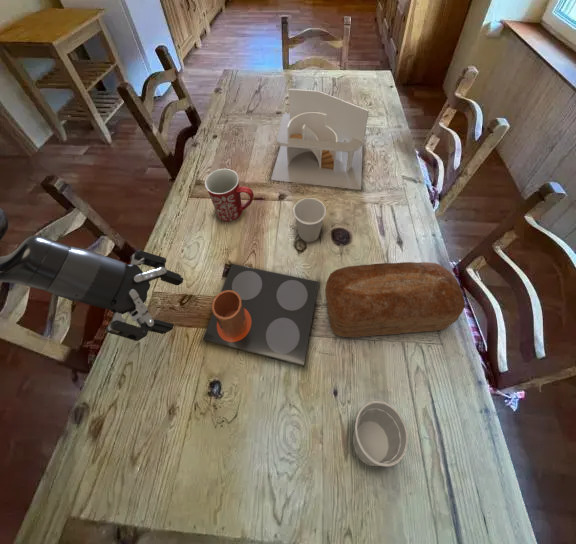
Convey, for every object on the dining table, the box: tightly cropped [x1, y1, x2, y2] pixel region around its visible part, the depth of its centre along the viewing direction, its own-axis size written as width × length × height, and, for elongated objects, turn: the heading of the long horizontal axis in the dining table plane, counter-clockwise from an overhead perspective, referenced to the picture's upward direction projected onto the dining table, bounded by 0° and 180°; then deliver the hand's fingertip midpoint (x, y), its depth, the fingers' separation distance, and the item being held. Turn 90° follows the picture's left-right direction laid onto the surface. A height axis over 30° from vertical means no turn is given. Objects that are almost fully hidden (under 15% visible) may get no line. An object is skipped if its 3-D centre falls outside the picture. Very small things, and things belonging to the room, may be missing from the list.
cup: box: [352, 400, 409, 467], centre depth 57 cm, size 8×8×12 cm
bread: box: [324, 261, 466, 338], centre depth 72 cm, size 12×28×14 cm, turn 94°
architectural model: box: [270, 88, 370, 191], centre depth 104 cm, size 28×21×23 cm
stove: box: [202, 263, 320, 368], centre depth 77 cm, size 18×22×2 cm
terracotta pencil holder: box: [211, 290, 247, 337], centre depth 71 cm, size 6×6×10 cm
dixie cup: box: [292, 197, 327, 243], centre depth 89 cm, size 8×8×10 cm
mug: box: [204, 168, 254, 223], centre depth 94 cm, size 13×9×14 cm
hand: (176, 303), depth 63 cm, fingers open, 8 cm apart
